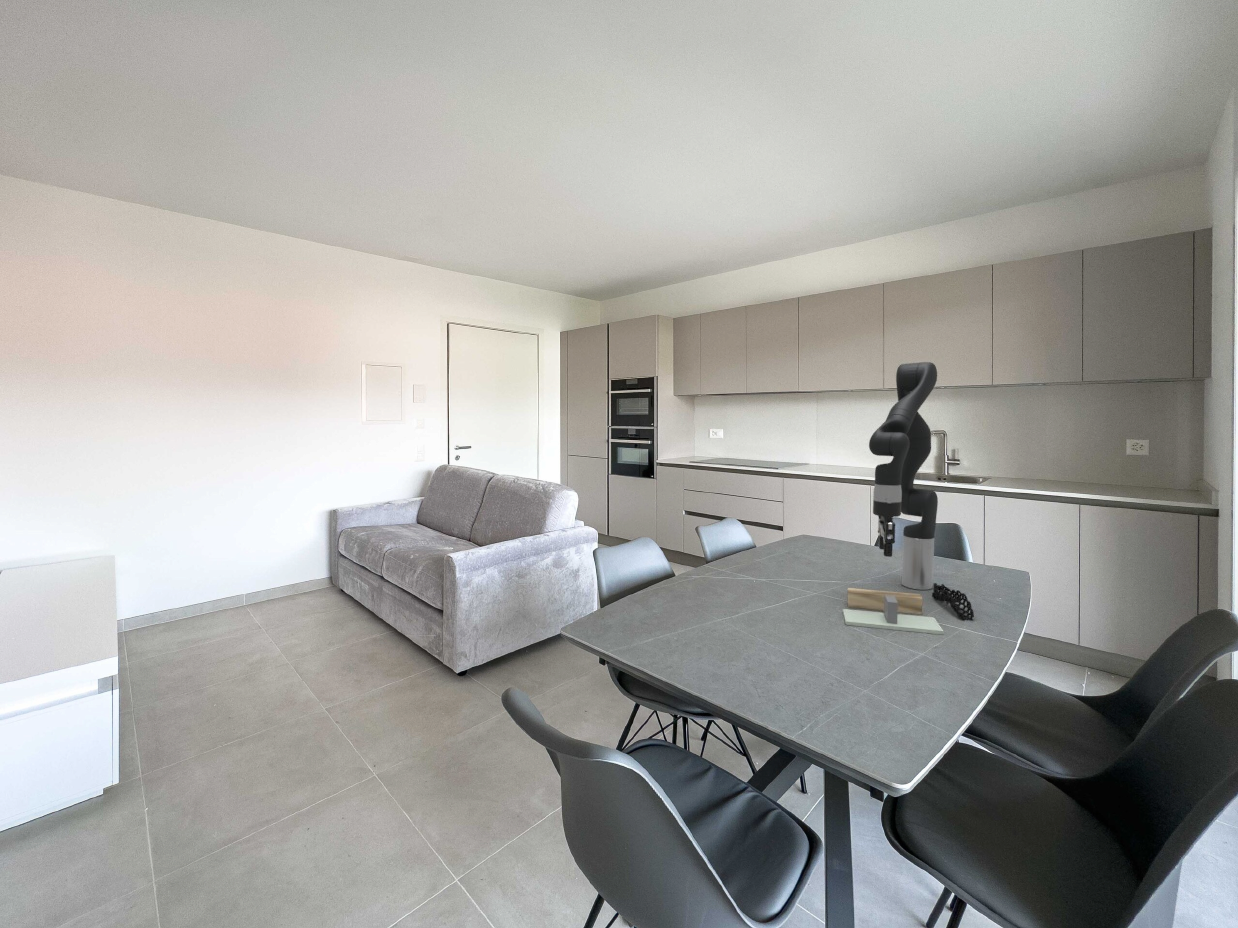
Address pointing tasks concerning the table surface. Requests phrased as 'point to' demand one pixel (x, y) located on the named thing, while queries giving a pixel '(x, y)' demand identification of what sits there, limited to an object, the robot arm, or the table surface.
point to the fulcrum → (892, 619)
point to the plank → (876, 600)
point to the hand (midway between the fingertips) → (885, 552)
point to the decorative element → (953, 600)
